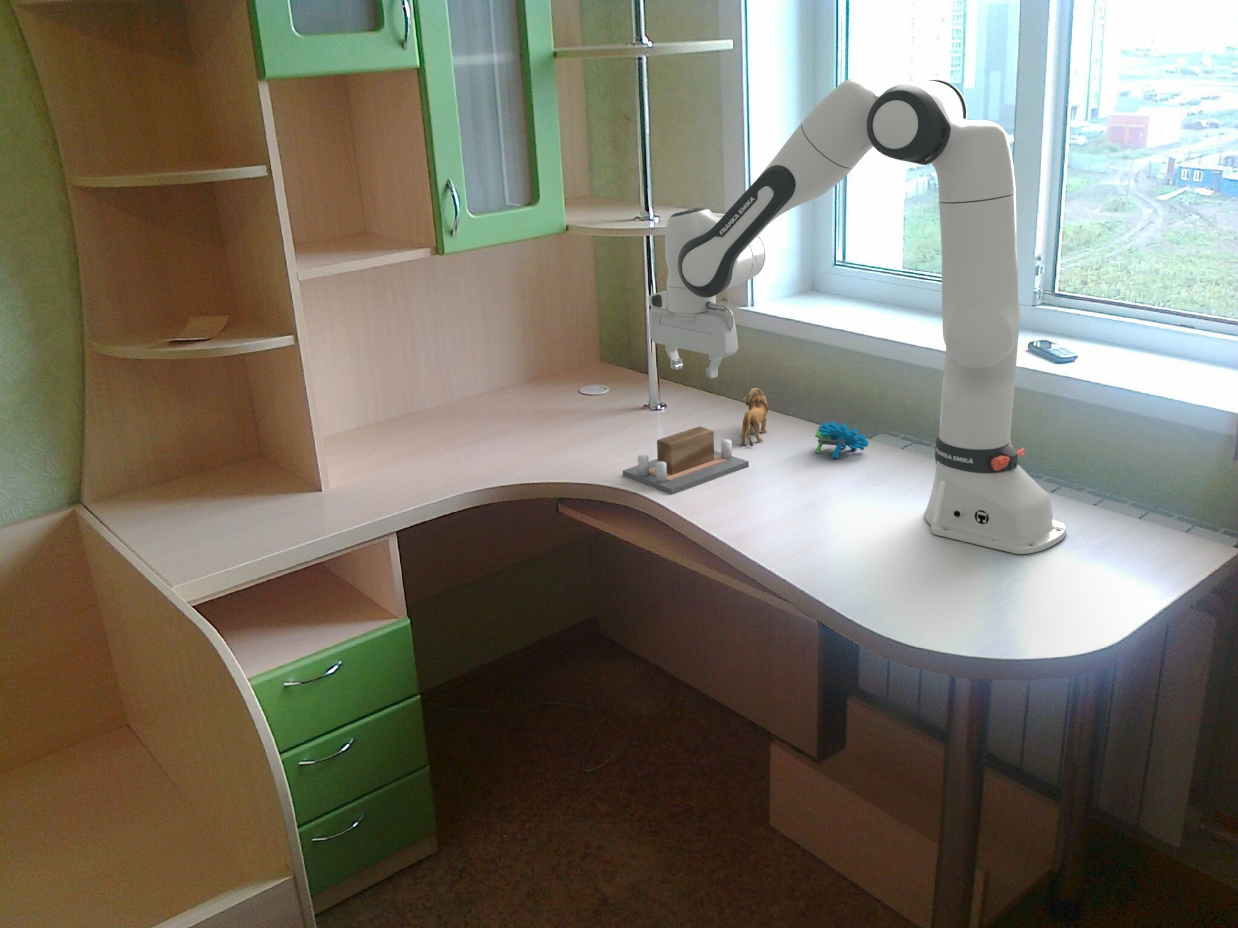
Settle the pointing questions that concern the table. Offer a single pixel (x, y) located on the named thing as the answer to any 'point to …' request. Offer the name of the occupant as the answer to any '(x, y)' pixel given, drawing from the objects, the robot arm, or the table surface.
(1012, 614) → the table surface
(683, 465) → the block
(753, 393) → the lion figurine
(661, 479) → the cradle
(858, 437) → the blue spiky animal toy
